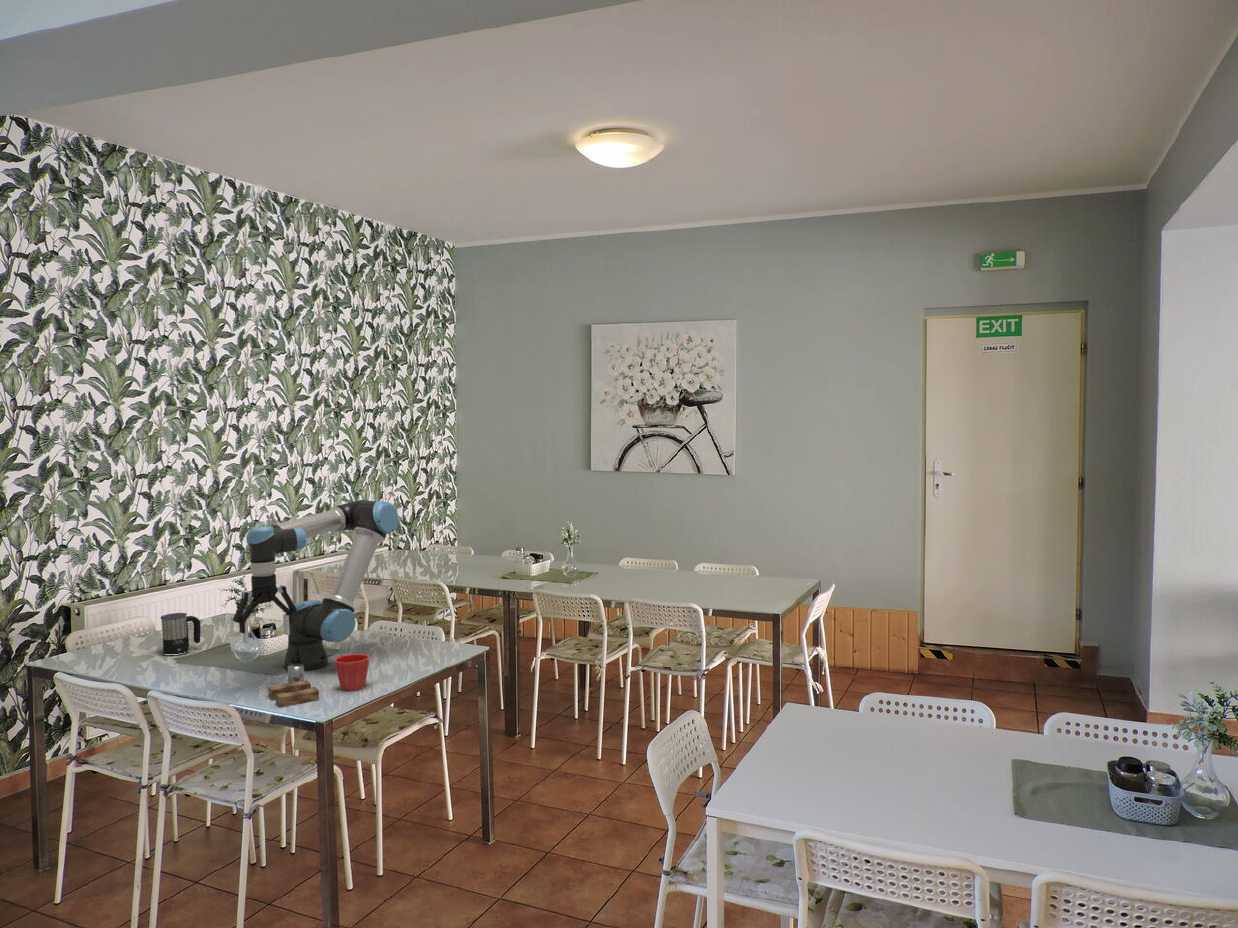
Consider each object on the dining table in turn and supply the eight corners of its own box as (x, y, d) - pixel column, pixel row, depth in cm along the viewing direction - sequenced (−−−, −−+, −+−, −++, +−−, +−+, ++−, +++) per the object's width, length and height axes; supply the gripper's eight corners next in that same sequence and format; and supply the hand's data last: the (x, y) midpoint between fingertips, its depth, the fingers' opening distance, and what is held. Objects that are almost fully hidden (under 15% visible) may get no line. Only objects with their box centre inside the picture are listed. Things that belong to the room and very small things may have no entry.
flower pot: (339, 682, 297) (338, 654, 297) (372, 681, 298) (372, 653, 298) (332, 692, 287) (331, 662, 286) (366, 691, 288) (365, 661, 287)
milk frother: (171, 657, 334) (169, 618, 333) (146, 652, 342) (144, 614, 341) (205, 648, 346) (204, 611, 346) (180, 644, 354) (179, 607, 354)
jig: (306, 689, 291) (306, 680, 291) (319, 699, 280) (318, 690, 279) (268, 696, 284) (268, 686, 284) (279, 707, 273) (279, 697, 273)
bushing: (302, 683, 298) (301, 663, 297) (306, 687, 293) (305, 666, 293) (286, 686, 295) (285, 665, 294) (290, 689, 291) (289, 668, 290)
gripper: (295, 567, 301) (298, 629, 302) (219, 578, 283) (223, 644, 285) (305, 569, 295) (308, 632, 297) (228, 581, 278) (232, 648, 279)
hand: (266, 638), depth 291 cm, fingers open, 13 cm apart
